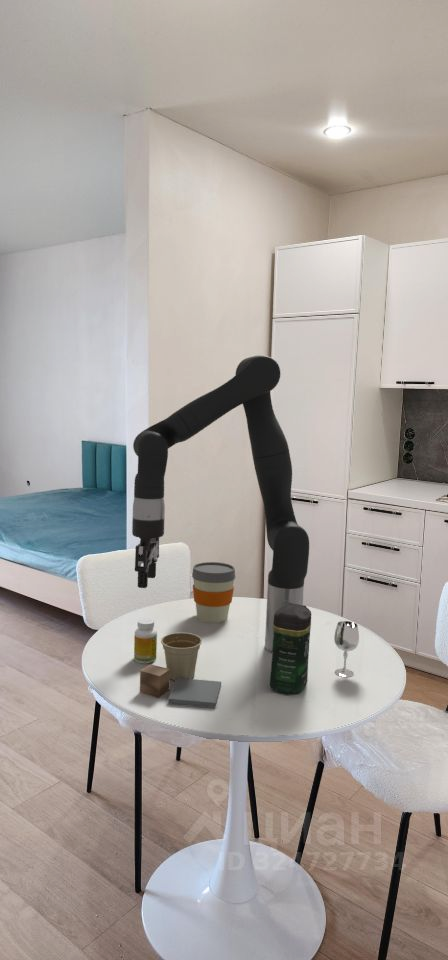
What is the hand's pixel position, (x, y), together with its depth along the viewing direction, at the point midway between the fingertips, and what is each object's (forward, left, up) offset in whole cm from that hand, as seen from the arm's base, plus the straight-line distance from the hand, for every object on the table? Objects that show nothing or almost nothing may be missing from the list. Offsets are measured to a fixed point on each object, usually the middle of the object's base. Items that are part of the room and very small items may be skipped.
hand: (146, 582), depth 152 cm
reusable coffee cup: (-12, -33, -20) cm, 40 cm away
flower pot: (-10, +7, -20) cm, 23 cm away
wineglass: (-48, -2, -20) cm, 52 cm away
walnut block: (-6, +16, -19) cm, 26 cm away
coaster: (-15, +16, -19) cm, 29 cm away
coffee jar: (-35, +8, -20) cm, 41 cm away
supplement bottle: (0, 0, -20) cm, 20 cm away
